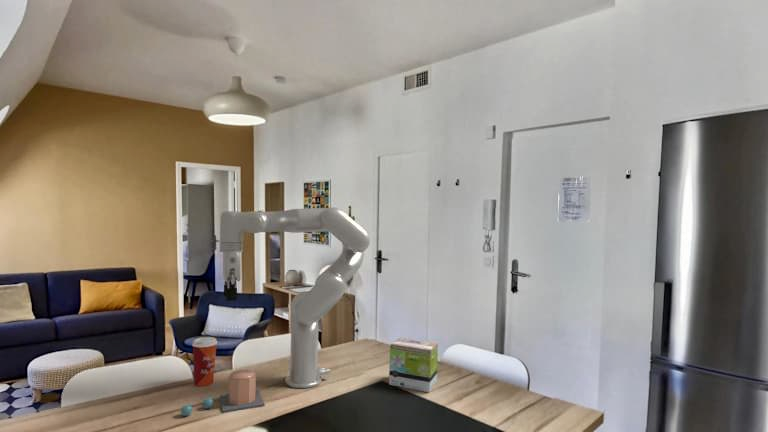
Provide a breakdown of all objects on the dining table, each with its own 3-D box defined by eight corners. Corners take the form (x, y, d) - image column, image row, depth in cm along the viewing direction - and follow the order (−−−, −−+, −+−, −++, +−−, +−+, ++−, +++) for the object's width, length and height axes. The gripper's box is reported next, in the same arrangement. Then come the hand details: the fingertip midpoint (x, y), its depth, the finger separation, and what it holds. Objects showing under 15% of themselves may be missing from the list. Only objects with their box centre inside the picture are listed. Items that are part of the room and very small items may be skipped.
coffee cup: (207, 388, 142) (208, 343, 142) (185, 386, 144) (186, 341, 144) (221, 379, 150) (222, 337, 150) (200, 377, 152) (202, 335, 152)
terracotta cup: (252, 393, 137) (253, 368, 137) (256, 402, 130) (257, 376, 131) (227, 397, 134) (228, 371, 134) (230, 406, 127) (231, 379, 127)
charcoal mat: (258, 391, 140) (258, 389, 140) (264, 406, 129) (264, 404, 129) (219, 397, 135) (219, 395, 135) (222, 412, 124) (222, 410, 124)
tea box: (388, 386, 148) (389, 343, 148) (398, 376, 157) (399, 336, 157) (430, 393, 142) (430, 349, 142) (437, 383, 151) (438, 341, 152)
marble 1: (193, 408, 121) (194, 413, 123) (188, 400, 123) (189, 406, 124) (183, 414, 119) (184, 420, 121) (178, 407, 121) (179, 412, 123)
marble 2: (215, 397, 129) (208, 402, 129) (207, 394, 127) (200, 400, 127) (215, 406, 127) (208, 411, 127) (207, 404, 125) (200, 409, 125)
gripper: (246, 249, 137) (244, 301, 137) (239, 246, 153) (238, 293, 153) (221, 249, 134) (220, 303, 134) (217, 246, 150) (216, 294, 150)
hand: (230, 298), depth 143 cm, fingers open, 9 cm apart
